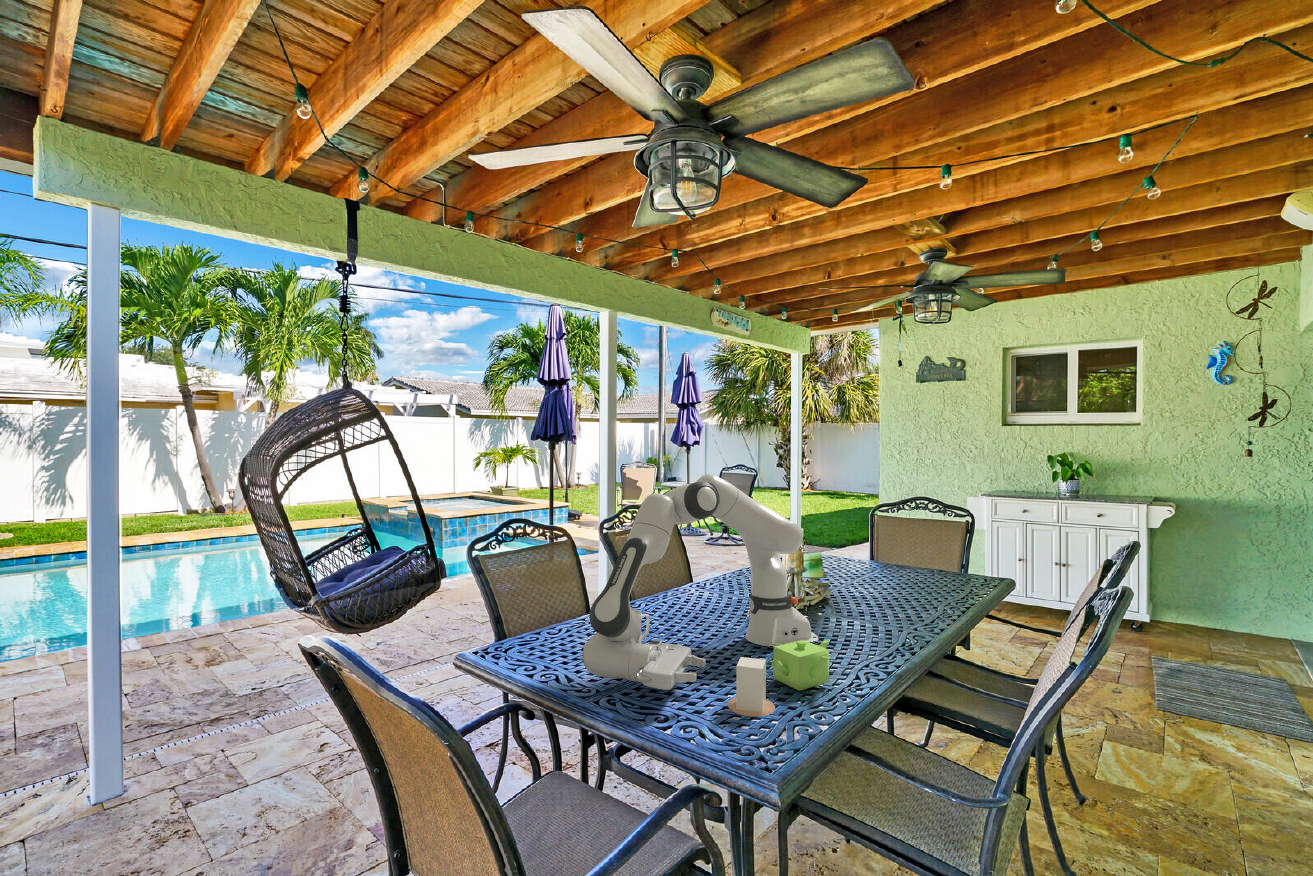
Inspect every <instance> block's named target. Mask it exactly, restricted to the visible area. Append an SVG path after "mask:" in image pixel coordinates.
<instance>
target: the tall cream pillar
mask: <svg viewBox="0 0 1313 876" xmlns="http://www.w3.org/2000/svg"><path fill="white" fill-rule="evenodd" d="M735 679H736V682H735V683H736V686H735V687H736V689H735V690H736V693H735V694H736V696H735V697H736V709H738V710H745V711H753V712H760V713H763V709H764V706H765V703H766V699H767V697H766V696H767V695H766V693H767V688H766V687H767V684H766V683H767V660H766V659H761V658H752V657H744V656H741V657H739V660H738V662H737V664H736V678H735Z"/></svg>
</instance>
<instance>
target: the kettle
mask: <svg viewBox="0 0 1313 876" xmlns="http://www.w3.org/2000/svg"><path fill="white" fill-rule="evenodd" d="M829 642H830V640H829V639H827V640H823V641H821V643H820V644H819V645H818V644H816V643H815V644H812V643H810V642H807V641H804V640H800V641H796V642H792V643H787V644H776V646H775V647H773V660H772V662H771V667H772V668H773V670H772V673H773V674H772V676H773V677H772V678H773V679H774V680H776V681H778V682H780V683H781V684H784V685H786V686H788V687H790V688H792V689H794V690H797V691H798V692H799V691H805V690H807V689H810V688H813V687H814V688H816V687H818V686H820V687H821V685H823V684H827V683H829V682H830V660H831V657H830V649H828V648H826V646H827V645H828V644H829Z"/></svg>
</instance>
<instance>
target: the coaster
mask: <svg viewBox="0 0 1313 876" xmlns="http://www.w3.org/2000/svg"><path fill="white" fill-rule="evenodd" d="M727 707H728V709H730V711H731V712H734V713H735V714H736V715H737V714H738V715H741V716H744V717H745V716H746V717H755V718H756V717H764V716H769V715H771V714H773V713H774V712H775V711H776V706H775V704H774V703H773V702H772V701H771V700H769V699H767V698H766V703H765V706H764V709H763V713H760V712H753V711H745V710H738V709H736V696H735V697H733V698H731V699H729V700H728V702H727Z"/></svg>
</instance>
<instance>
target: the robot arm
mask: <svg viewBox="0 0 1313 876" xmlns="http://www.w3.org/2000/svg"><path fill="white" fill-rule="evenodd" d="M711 516H713V517H715V518H716V519H718V520H719V521H721V523H723V524H725V525H726V526H727V527H729V528H731V529H732V530H734V531H735V532H738V535H739V536H740V539H741V540H742V542H743V544H744V545H745V550H746V552H747V557H748V561H749V565H750V575H751V576H750V577H751V578H750V582H751V583H750V584H751V586H750V590H751V591H750V593H749V600H748V601H749V604H748V605H749V612H750V613H749V623H748V627H747V630H746V635H745V640H747V641H748V642H750V643H752V644H755V645H759V646H765V647H770V646H773V647H772V648H774V647H775V646H776V644H787V643H792V642H796V641H800V640H804V641H807V642H813V641H818V640H819V636H818V635H816V634H815V633H814V632H813V631H812V627H811V624H810V621H809V618H807V617H806V616H804V615H803V614H802V613H801V612H800V611H799V610H797V609H796V608H795V607H793V605H798V603H799V599H798V598H796V597H795V596H791V595H789V594H788V571H787V568H786V566H785V565H784V564H783V562H782V559H781V557H780V555H781V554H782V555H784V554H785V555H788V554H794V553H795V552H797V551H798V550H799V549H800V548H801V546H802V544H803V541H804V534H803V530H802V529H801V527H800V525H799V524H797V522H796V523H795V522H793V521H792V520H790V519H788V518H786V517H784V516H783V515H782V514H780V513H778V512H776V511H775V510H773V509H771V508H769V507H768V506H766V505H764V504H761V503H760V502H758V501H756V500H755V499H753V498H752V497H750V496H749V495H748V494H746V493H745V492H743V491H741V489H740V488H738V487H736V486H735V485H734V484H732V483H731V482H729V481H728V480H726V479H723V478H722V477H720V476H717V475H715V474H712V473H709V474H708V473H706V474H704V475H702V476H700V477H699V478H698V479H697V480H696V481H695V482H692V483H688V484H683V485H679V486H677V487H675V488H673V489H671V490H667V491H664V492H663V493H657V492H656V493H651V494H648V495H647V496H646V497H645V498H644V499H643V501H642V503H641V505H640V507H639V508H638V511H637V513H636V515H635V518H634V520H633V523H632V525H631V529H630V532H629V534H628V538H627V540H626V542H625V543H624V546H623V547H622V549H621V550H620V552H619V554H618V557H617V559H616V562H615V563H614V566H613V567H612V568H613V569H612V571H611V574H610V576H609V578H608V580H607V583H606V585H605V586H604V588H603V590H602V591H601V593H600V594H599V595H598V596H597V597H596V598H595V600H594V601H593V602H592V604H591V607H590V610H589V617H588V618H589V623H590V625H591V628H592V629H593V630H594V631H595V633H594V634H593V636H591V638H590V639H588V640H587V641H586V642H585V643H584V645H583V647H582V648H583V649H582V661H583V664H584V667H585V669H586V670H587V671H588V672H589V673H591V674H593V675H595V676H597V677H603V678H606V679H607V678H609V679H613V680H614V679H615V680H616V679H626V680H628V681H630V682H638V683H642V684H643V685H644V686H645V687H649V688H653V689H657V690H662V691H663V690H664V691H667V690H671V689H673V687H674V686H675V685H676V683H677V684H683V683H688V682H690V683H695V682H696V681H697V678H698V677H697V676H698V674H697V672H696V671H689V672H685V670H686V668H687V667H688V666H692V665H693V666H697V668H705V666H706V661H707V660H706V659H705V658H701V657H698V656H696V655H694V654H692V649H691V648H690V647H688V646H687V645H686V646H685V645H680V644H675V643H663V641H662V640H653V641H650V642H646V643H641V644H638V640H639V637H640V634H641V630H642V629H643V623H642V622H643V620H642V621H641V618H640V616H639V615H638V613H637V612H636V611H635V610H634V609H635V608H633V607H631V604H630V595H631V592H632V590H633V588H634V585H635V582H636V579H637V578H638V575H639V572H640V571H641V569H642V567H643V566H644V565H646V564H647V565H649V564H653V563H656V562H658V561H659V560H661V559H662V558H663V556H664V554H665V553H666V552H667V549H668V546H669V544H670V540H671V537H672V533H673V528H674V527H676V526H679V525H680V526H681V525H688V524H693V523H695V522H698V521H701V520H706V519H708V518H709V517H711ZM641 635H642V634H641ZM813 637H816V638H813Z"/></svg>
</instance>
